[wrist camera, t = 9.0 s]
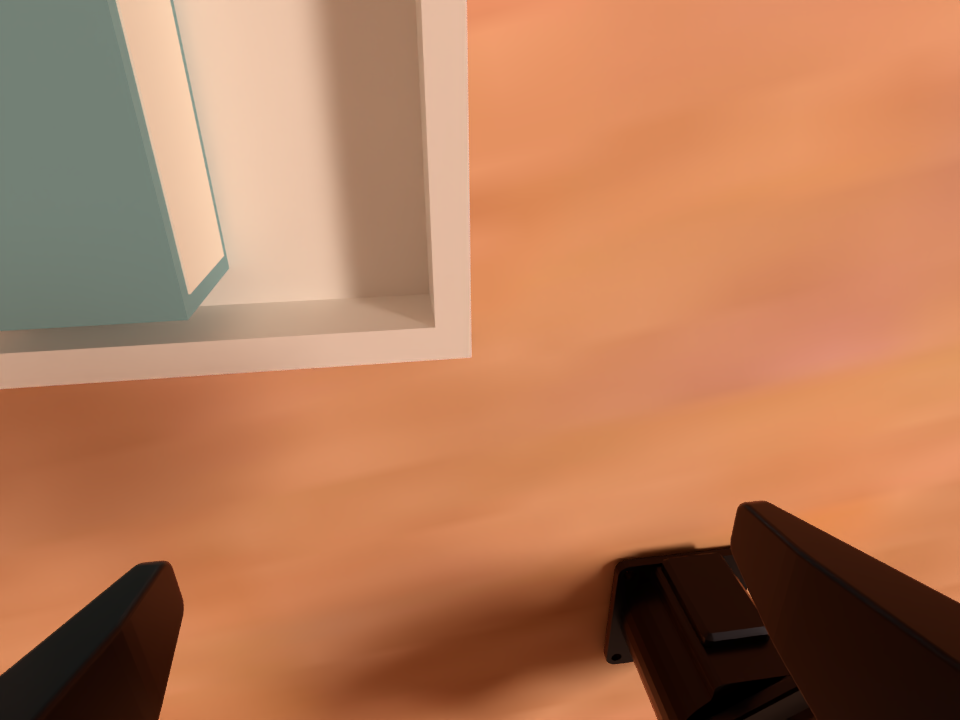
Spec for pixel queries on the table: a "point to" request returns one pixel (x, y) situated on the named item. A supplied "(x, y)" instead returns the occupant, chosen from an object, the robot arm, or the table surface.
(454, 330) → the book tray
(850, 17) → the table surface
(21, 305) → the book
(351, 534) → the table surface
